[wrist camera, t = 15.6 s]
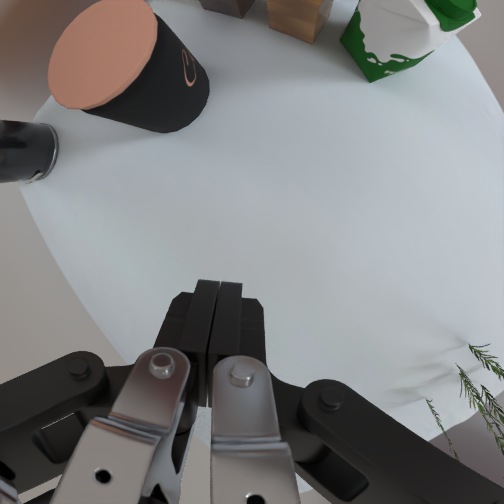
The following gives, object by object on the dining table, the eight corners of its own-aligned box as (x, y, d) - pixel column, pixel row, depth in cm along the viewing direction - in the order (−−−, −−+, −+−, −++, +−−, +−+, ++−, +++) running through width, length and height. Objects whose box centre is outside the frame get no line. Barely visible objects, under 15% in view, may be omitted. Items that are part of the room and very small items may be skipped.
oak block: (269, 27, 30) (263, -14, 20) (288, -1, 28) (287, -44, 18) (311, 44, 30) (319, 5, 20) (329, 15, 28) (340, -26, 18)
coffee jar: (227, 103, 33) (178, 44, 15) (158, 150, 35) (67, 137, 18) (188, 46, 31) (127, -24, 14) (125, 91, 33) (37, 55, 16)
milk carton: (367, 91, 30) (440, 21, 11) (329, 36, 29) (359, -63, 10) (417, 71, 29) (501, 12, 9) (380, 19, 27) (433, -65, 8)
